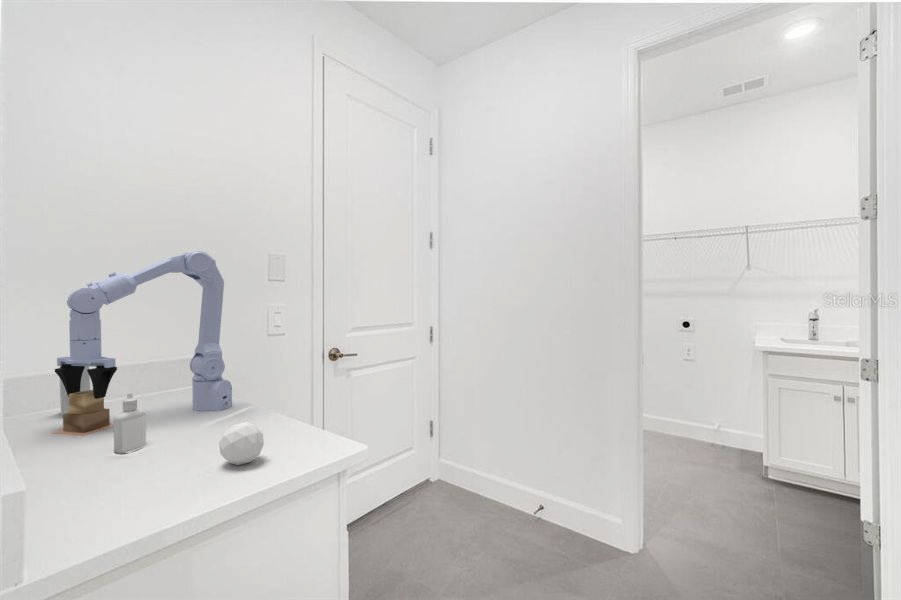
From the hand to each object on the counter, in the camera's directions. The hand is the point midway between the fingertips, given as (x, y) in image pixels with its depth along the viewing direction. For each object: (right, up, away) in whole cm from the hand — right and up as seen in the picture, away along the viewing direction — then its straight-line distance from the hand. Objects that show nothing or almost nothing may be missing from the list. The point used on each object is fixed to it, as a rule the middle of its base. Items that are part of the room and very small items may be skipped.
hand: (86, 397), depth 104 cm
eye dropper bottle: (+19, -9, -12) cm, 24 cm away
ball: (+45, -9, -18) cm, 50 cm away
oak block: (0, -3, 0) cm, 3 cm away
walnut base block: (0, -7, 0) cm, 7 cm away
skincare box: (-14, -8, +13) cm, 21 cm away
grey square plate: (+3, -8, +4) cm, 9 cm away
